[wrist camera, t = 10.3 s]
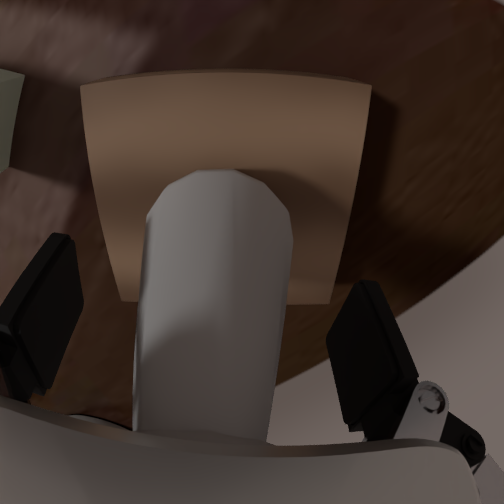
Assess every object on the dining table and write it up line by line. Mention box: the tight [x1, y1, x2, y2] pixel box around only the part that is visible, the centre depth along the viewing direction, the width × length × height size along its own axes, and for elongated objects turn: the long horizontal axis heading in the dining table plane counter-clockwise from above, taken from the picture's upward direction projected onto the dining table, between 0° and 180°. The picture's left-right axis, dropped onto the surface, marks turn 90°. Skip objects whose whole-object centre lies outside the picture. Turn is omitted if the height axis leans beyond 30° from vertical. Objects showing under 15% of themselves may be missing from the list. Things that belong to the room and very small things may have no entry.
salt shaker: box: [133, 169, 293, 446], centre depth 9 cm, size 6×6×13 cm
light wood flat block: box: [80, 68, 372, 305], centre depth 16 cm, size 12×12×3 cm
